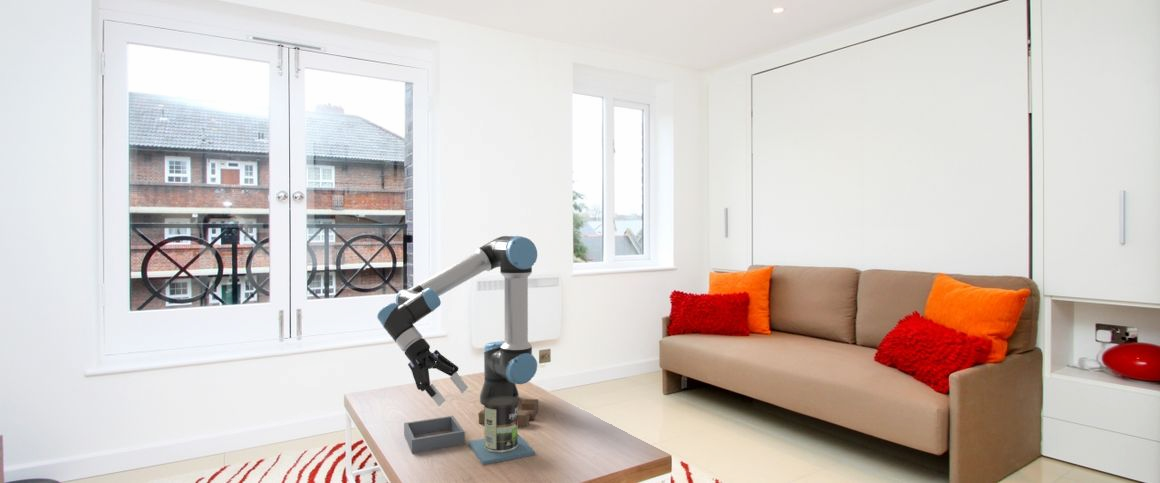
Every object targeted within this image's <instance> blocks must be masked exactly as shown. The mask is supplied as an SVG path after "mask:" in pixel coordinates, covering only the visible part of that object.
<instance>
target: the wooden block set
mask: <svg viewBox="0 0 1160 483" xmlns="http://www.w3.org/2000/svg"><path fill="white" fill-rule="evenodd" d="M520 405H521V408H520V409H518V428H524V427H525V428H527V427H528V425H529V424H530V421H534V420H535V419H536V414H538V412H539V399H525V400H523V401H522V402H521V404H520ZM478 423H479V424H481V425H484V409H482V410H480V411H479V412H478Z"/></svg>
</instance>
